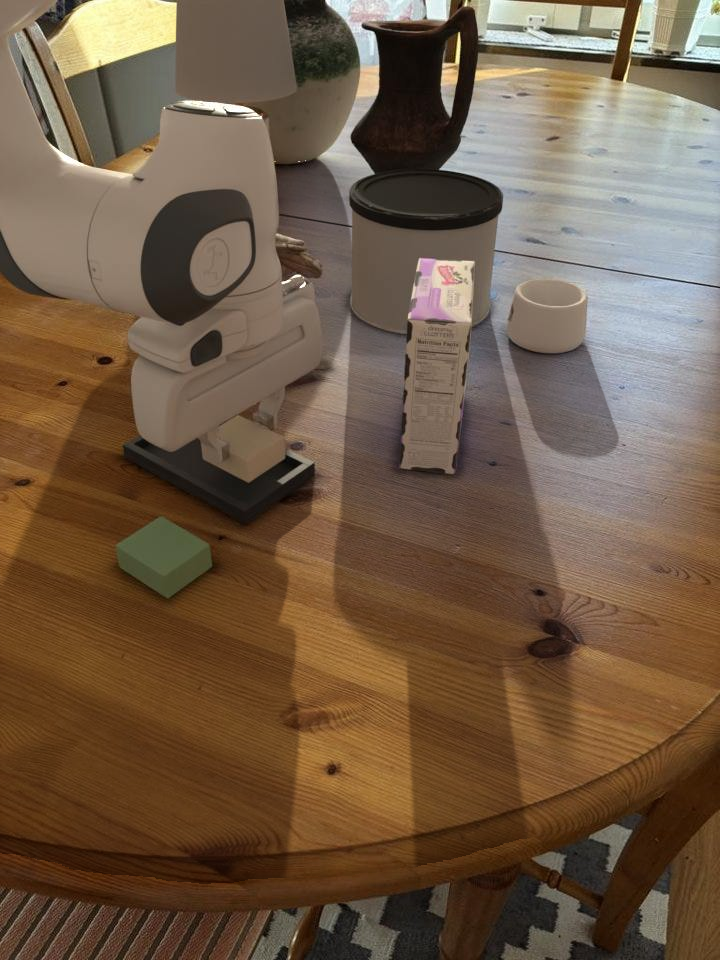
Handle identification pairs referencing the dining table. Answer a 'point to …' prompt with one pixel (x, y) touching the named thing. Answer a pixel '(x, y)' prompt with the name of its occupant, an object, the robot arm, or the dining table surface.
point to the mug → (548, 316)
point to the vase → (314, 83)
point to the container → (418, 237)
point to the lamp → (233, 52)
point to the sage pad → (164, 556)
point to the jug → (417, 93)
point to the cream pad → (249, 448)
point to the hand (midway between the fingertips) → (242, 443)
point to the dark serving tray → (221, 477)
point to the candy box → (436, 364)
